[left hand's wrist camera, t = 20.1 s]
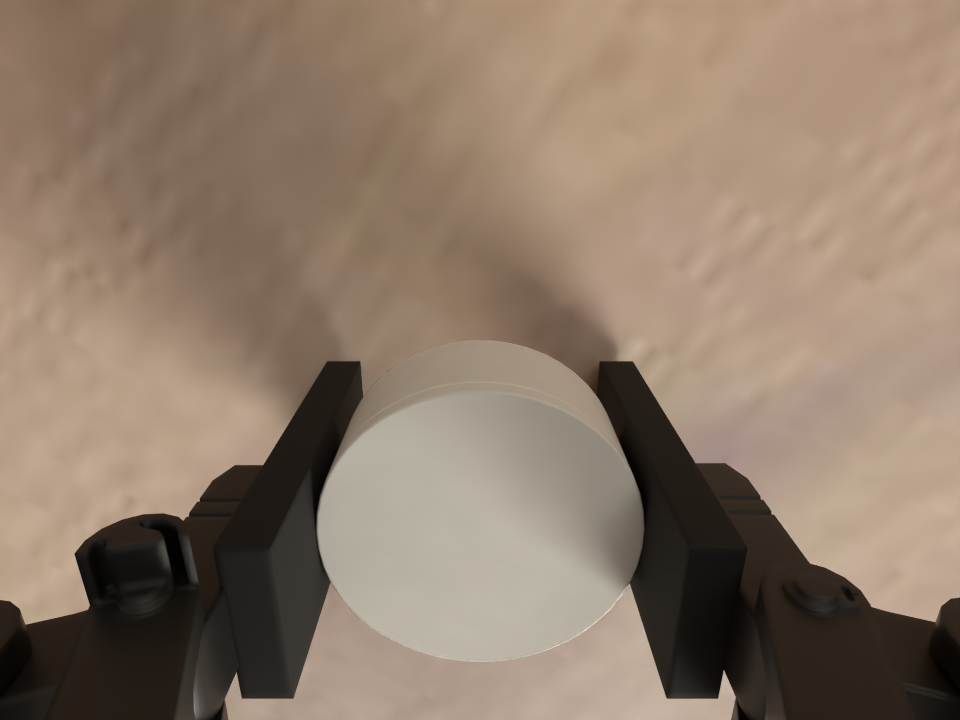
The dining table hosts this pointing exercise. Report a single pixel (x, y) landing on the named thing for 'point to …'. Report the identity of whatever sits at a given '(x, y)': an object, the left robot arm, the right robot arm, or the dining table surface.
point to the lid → (480, 505)
